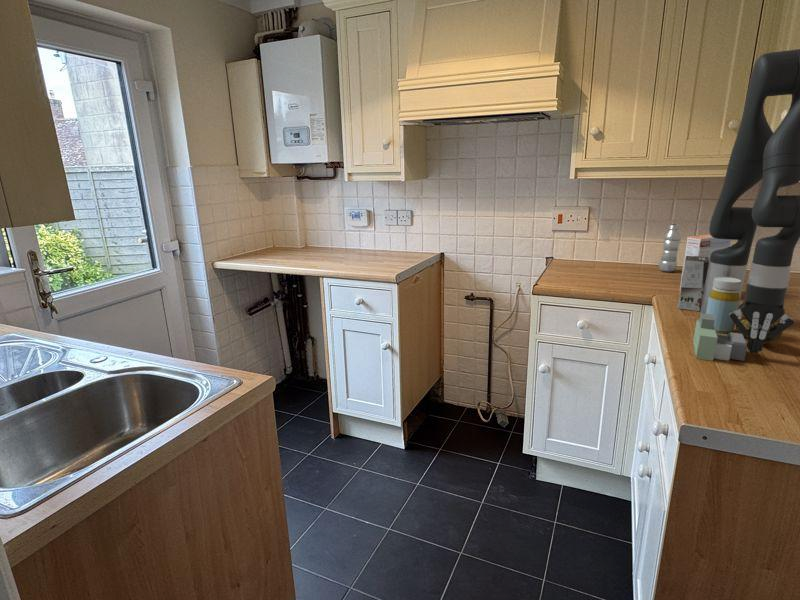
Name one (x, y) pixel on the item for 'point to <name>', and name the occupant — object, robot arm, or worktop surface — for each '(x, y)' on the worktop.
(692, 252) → the cracker box
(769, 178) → the robot arm
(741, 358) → the grey stepped block
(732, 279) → the bottle
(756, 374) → the worktop surface
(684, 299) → the coffee box
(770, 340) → the potato
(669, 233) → the plastic bottle
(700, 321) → the green block cluster
